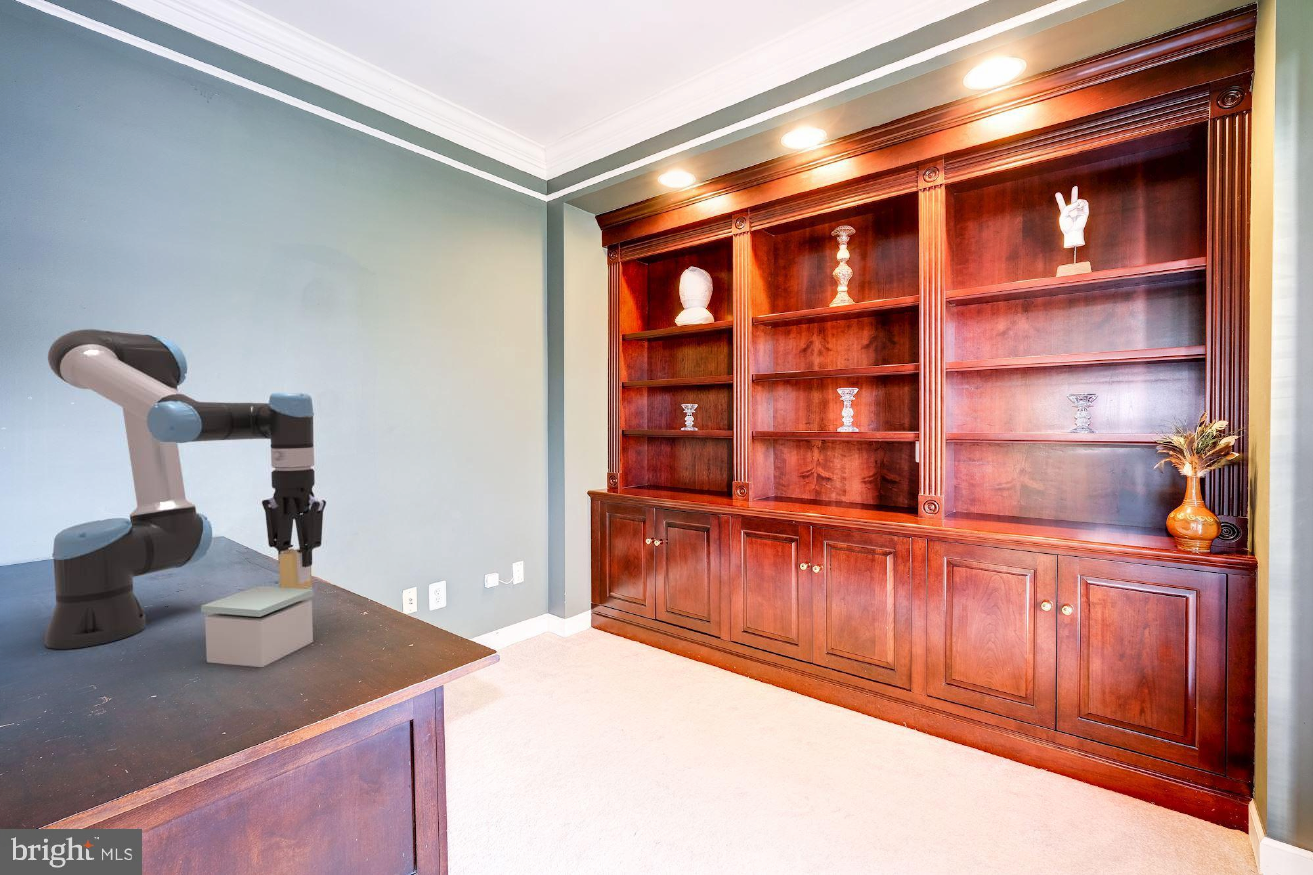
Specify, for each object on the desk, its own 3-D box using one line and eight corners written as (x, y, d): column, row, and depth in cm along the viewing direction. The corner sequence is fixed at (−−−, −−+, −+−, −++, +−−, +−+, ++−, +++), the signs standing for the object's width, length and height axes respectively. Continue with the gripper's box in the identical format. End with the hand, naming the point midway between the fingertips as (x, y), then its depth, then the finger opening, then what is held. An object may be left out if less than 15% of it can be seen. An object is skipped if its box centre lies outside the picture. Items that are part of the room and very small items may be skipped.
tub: (206, 662, 109) (205, 616, 108) (262, 637, 120) (260, 596, 120) (262, 667, 106) (260, 620, 106) (312, 641, 118) (311, 600, 118)
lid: (201, 611, 108) (200, 568, 108) (279, 584, 125) (278, 547, 125) (259, 616, 106) (258, 572, 105) (331, 588, 123) (330, 550, 123)
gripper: (243, 469, 118) (247, 584, 119) (313, 471, 115) (315, 589, 116) (274, 466, 126) (277, 574, 127) (340, 467, 123) (343, 578, 124)
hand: (295, 581), depth 122 cm, fingers closed on lid, 3 cm apart
